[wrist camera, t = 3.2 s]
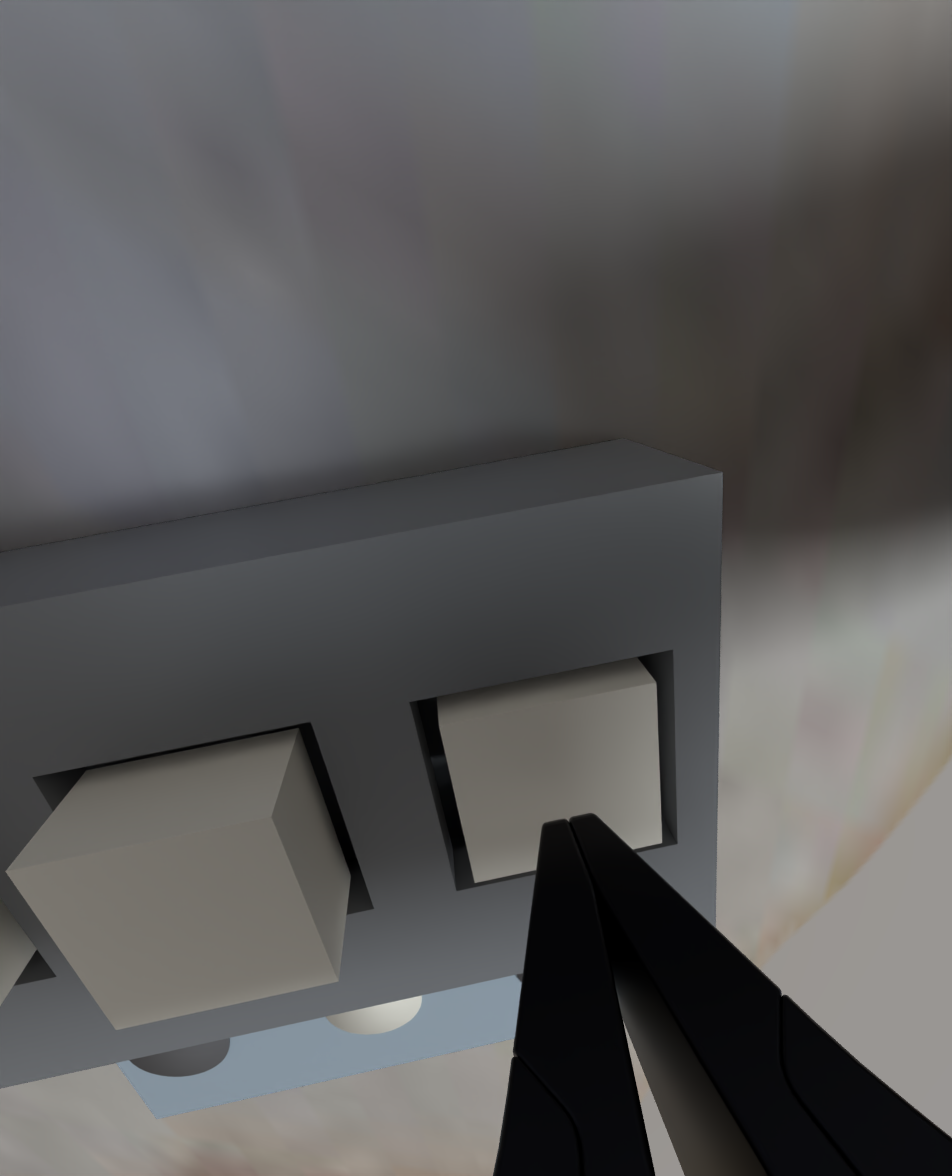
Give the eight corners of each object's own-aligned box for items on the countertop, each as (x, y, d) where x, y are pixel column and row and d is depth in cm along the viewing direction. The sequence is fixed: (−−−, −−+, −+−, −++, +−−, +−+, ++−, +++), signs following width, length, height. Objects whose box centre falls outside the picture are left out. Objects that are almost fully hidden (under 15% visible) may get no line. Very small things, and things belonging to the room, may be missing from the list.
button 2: (614, 628, 11) (656, 682, 9) (624, 770, 12) (662, 843, 10) (434, 663, 11) (439, 725, 9) (465, 803, 12) (474, 883, 10)
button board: (624, 438, 12) (722, 472, 8) (643, 796, 16) (715, 930, 12) (-252, 598, 11) (-591, 717, 7) (-3, 931, 15) (-140, 1119, 11)
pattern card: (613, 854, 16) (619, 868, 16) (625, 999, 19) (631, 1015, 18) (68, 970, 16) (57, 989, 15) (161, 1103, 18) (155, 1122, 18)
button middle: (298, 727, 9) (270, 816, 8) (350, 876, 11) (338, 981, 9) (86, 770, 9) (4, 871, 7) (167, 915, 11) (116, 1030, 9)
